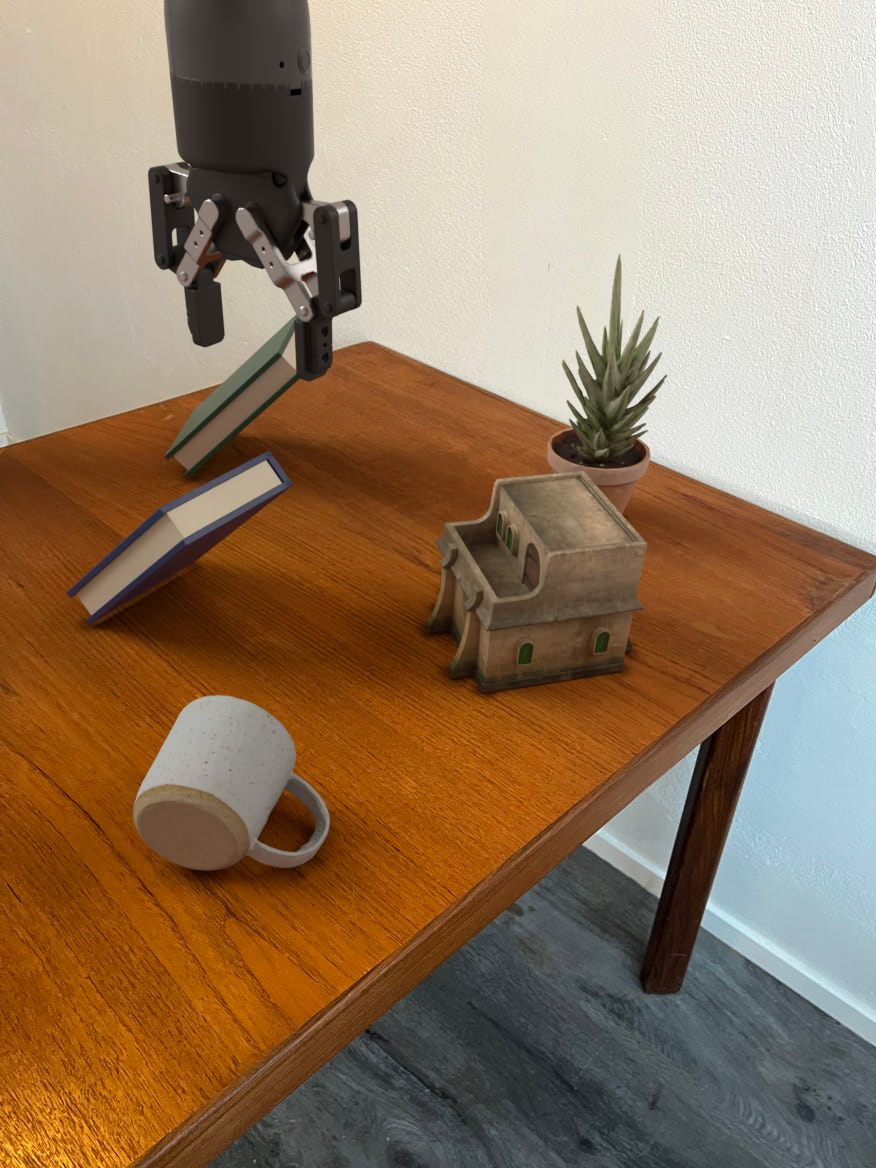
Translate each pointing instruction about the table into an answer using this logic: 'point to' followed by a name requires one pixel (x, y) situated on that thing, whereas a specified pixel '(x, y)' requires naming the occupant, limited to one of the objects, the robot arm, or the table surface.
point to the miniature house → (539, 584)
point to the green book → (237, 401)
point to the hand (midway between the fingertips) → (259, 360)
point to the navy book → (180, 535)
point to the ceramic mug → (223, 788)
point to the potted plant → (609, 409)
